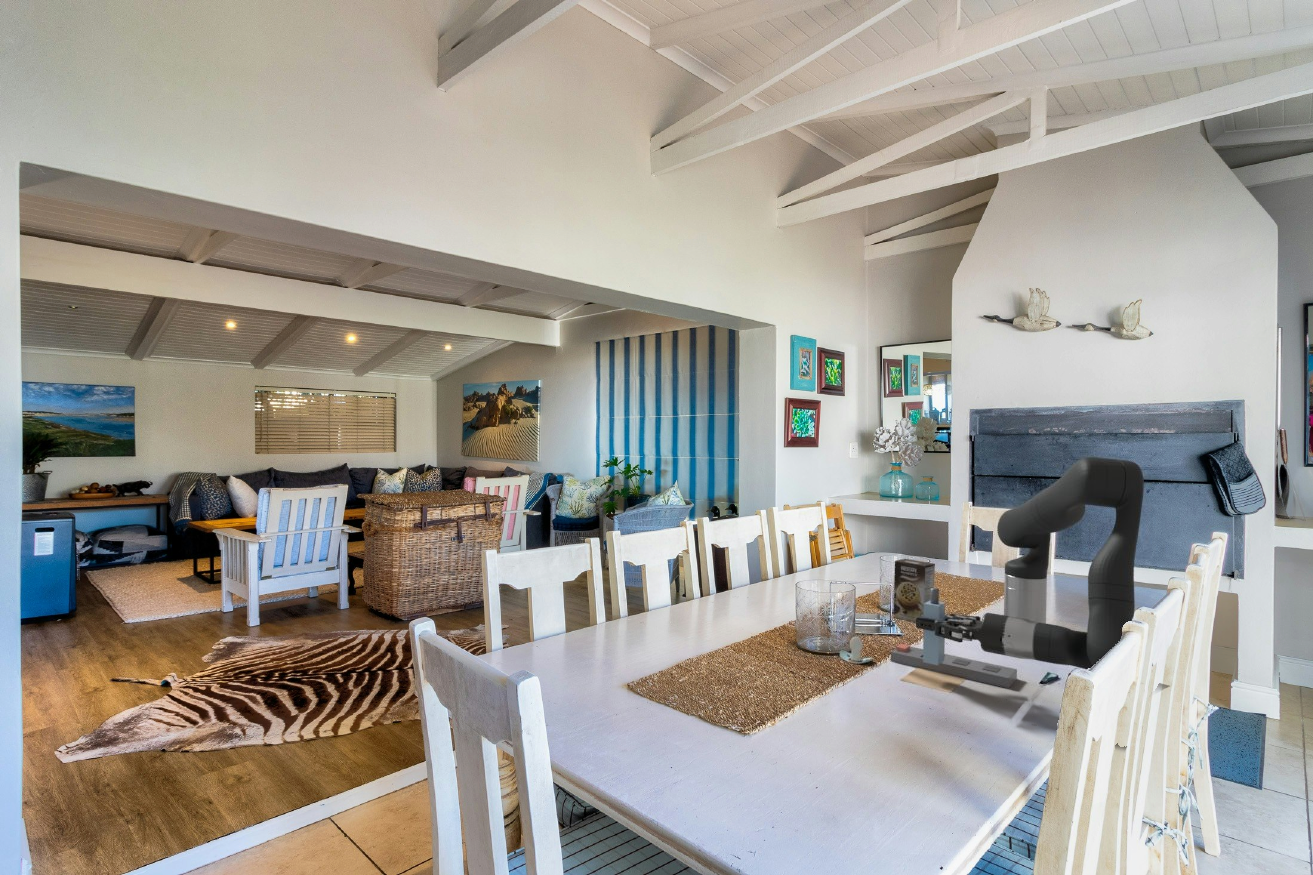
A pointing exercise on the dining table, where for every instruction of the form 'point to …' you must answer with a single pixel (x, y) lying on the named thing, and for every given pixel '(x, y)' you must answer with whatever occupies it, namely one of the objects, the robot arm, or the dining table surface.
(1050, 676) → the teal triangular wedge
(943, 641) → the blue-grey pegged block
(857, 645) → the pacifier
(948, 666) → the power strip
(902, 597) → the coffee box
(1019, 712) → the dining table surface
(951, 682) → the coaster
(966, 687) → the dining table surface
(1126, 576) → the robot arm
